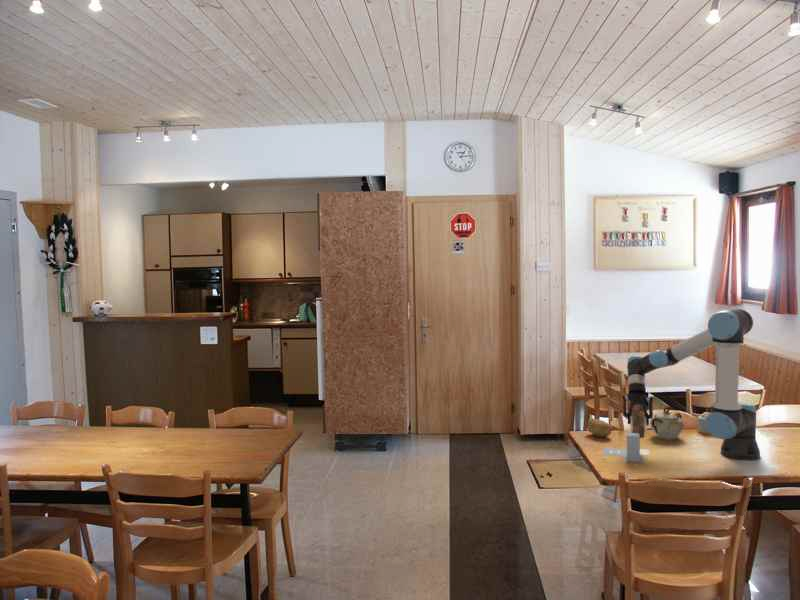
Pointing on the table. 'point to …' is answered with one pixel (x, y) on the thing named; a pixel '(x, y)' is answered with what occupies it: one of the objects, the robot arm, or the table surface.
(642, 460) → the code tile
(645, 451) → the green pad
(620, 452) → the code tile
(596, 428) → the potato
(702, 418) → the lumpy-topped squat cylinder
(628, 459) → the bluegrey block
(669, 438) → the sugar bowl
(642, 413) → the walnut block
